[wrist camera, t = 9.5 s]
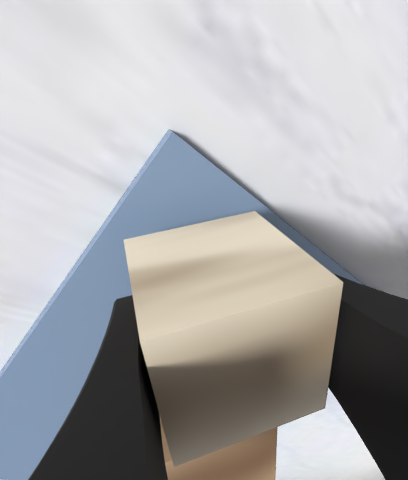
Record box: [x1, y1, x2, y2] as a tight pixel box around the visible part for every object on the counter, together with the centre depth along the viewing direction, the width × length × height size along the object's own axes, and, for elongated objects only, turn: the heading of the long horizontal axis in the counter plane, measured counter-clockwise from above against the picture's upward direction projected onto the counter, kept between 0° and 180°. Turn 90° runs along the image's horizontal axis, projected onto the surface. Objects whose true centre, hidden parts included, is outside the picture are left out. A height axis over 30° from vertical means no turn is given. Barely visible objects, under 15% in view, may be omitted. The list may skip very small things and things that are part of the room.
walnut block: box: [159, 414, 277, 480], centre depth 14 cm, size 4×4×4 cm
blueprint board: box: [0, 130, 363, 480], centre depth 16 cm, size 18×16×1 cm
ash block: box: [124, 211, 343, 467], centre depth 9 cm, size 4×4×4 cm
